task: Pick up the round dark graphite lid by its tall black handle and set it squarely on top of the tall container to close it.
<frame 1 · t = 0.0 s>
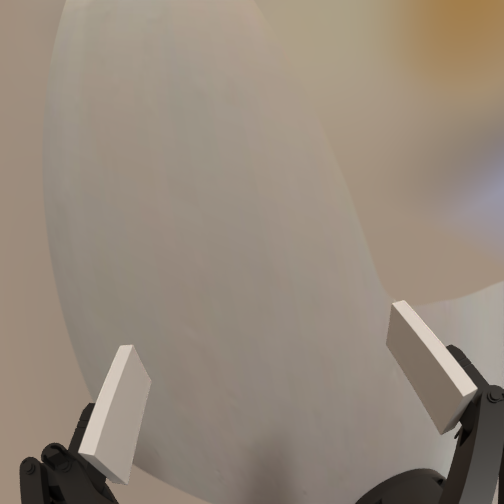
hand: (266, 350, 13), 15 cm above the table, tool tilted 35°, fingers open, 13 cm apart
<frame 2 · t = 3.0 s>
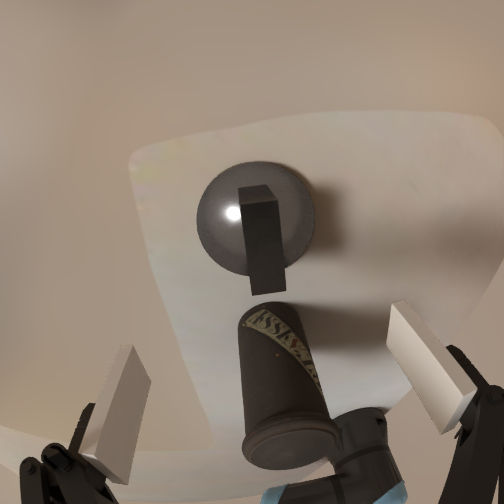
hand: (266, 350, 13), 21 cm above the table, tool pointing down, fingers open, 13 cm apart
container: (268, 326, 39), on the table
lid: (255, 218, 33), on the table
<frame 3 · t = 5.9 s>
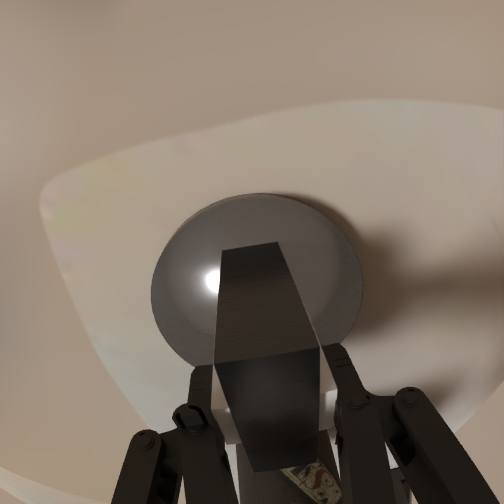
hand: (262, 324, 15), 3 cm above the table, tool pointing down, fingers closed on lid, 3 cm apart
container: (278, 423, 24), on the table
lid: (257, 295, 18), on the table, touching gripper
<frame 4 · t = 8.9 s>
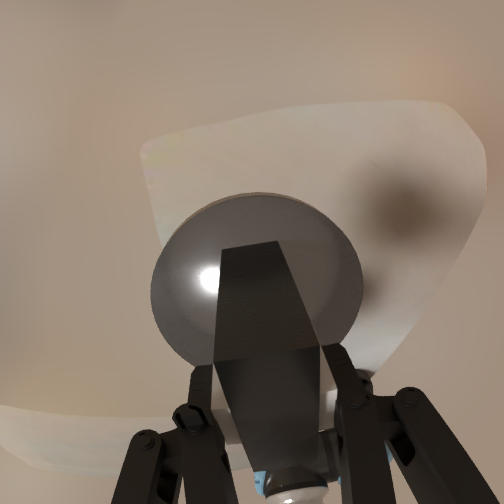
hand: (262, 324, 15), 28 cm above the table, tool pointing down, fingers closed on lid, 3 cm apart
lid: (257, 294, 18), point 25 cm above the table, touching gripper
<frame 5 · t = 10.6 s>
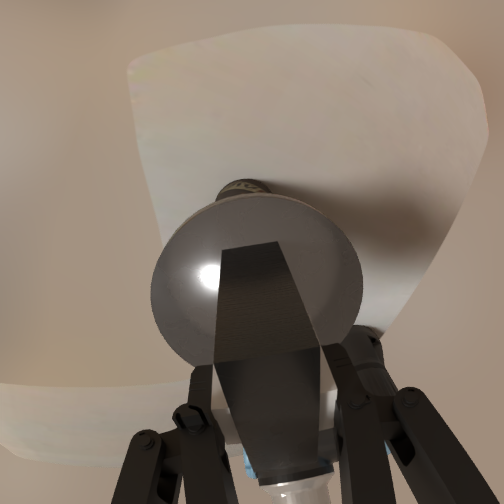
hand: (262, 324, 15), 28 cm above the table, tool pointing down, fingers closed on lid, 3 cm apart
container: (243, 206, 41), on the table
lid: (257, 295, 18), point 25 cm above the table, touching gripper
when the fingers open (25 cm above the table, at t = 12.0 s): lid drops 1 cm, resting on container.
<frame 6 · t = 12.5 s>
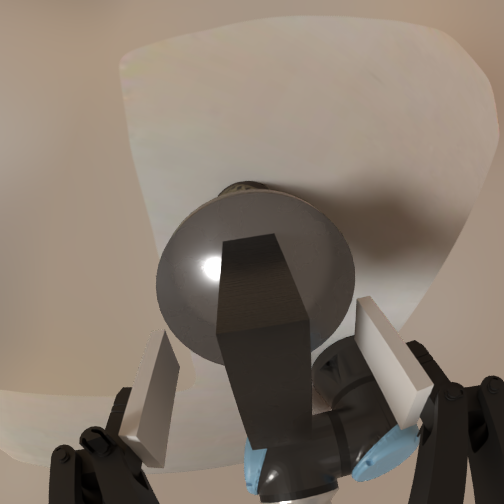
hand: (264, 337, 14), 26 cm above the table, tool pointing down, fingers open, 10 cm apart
container: (244, 211, 38), on the table, touching lid
lid: (256, 285, 20), point 20 cm above the table, touching container
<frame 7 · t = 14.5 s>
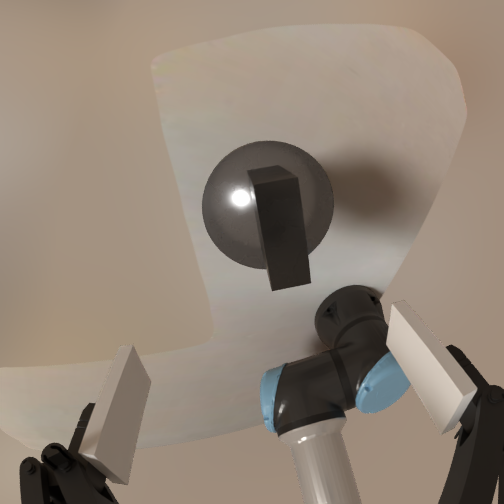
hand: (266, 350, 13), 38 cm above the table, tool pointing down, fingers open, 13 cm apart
lid: (267, 204, 29), point 20 cm above the table, touching container
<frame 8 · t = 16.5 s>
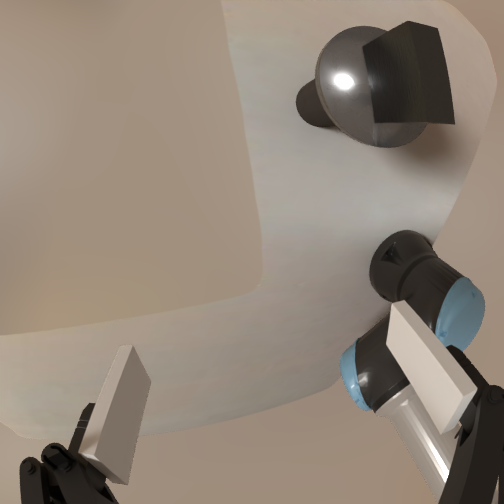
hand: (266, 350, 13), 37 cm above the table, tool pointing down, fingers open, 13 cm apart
container: (320, 104, 42), on the table, touching lid
lid: (375, 86, 24), point 20 cm above the table, touching container
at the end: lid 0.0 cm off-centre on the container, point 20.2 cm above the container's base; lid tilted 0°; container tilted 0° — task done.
